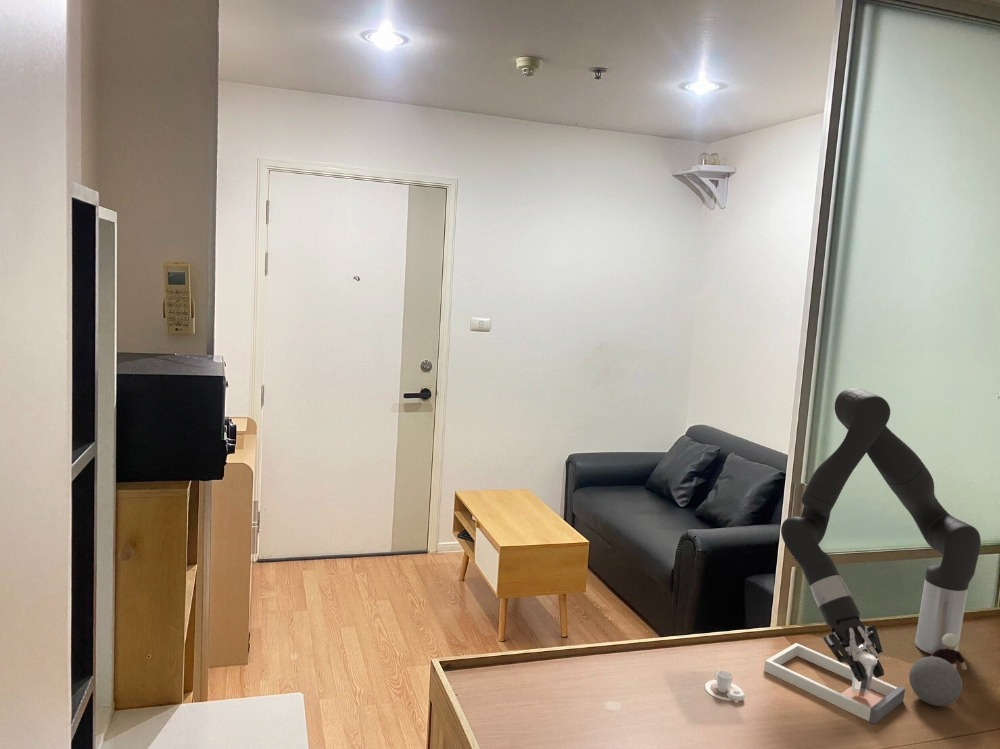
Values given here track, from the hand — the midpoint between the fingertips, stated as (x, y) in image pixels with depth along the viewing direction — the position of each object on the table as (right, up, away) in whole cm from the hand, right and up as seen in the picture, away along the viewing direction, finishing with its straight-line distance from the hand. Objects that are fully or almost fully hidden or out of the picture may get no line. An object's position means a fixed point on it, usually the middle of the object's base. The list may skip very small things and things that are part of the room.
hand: (871, 678), depth 167 cm
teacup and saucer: (-32, -5, 0) cm, 33 cm away
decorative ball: (+14, -7, +3) cm, 16 cm away
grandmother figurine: (+21, -6, +10) cm, 24 cm away
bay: (-5, -4, +7) cm, 10 cm away
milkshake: (-1, -4, +2) cm, 5 cm away
